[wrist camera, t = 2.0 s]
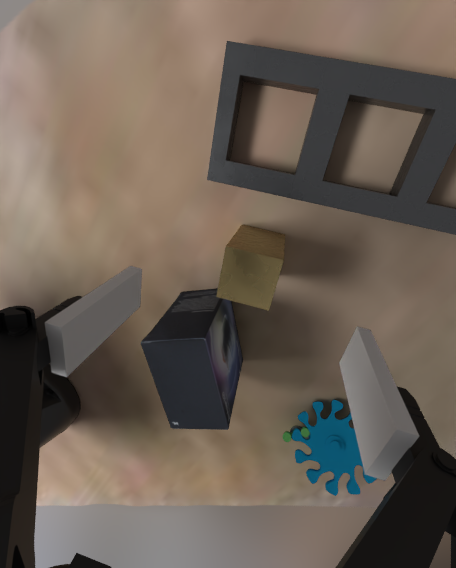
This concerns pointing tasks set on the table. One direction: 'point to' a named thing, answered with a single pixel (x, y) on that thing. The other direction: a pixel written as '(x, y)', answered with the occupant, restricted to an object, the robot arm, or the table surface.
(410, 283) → the table surface
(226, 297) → the olive yellow block
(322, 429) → the gear
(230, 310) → the small box
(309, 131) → the grey flat frame
